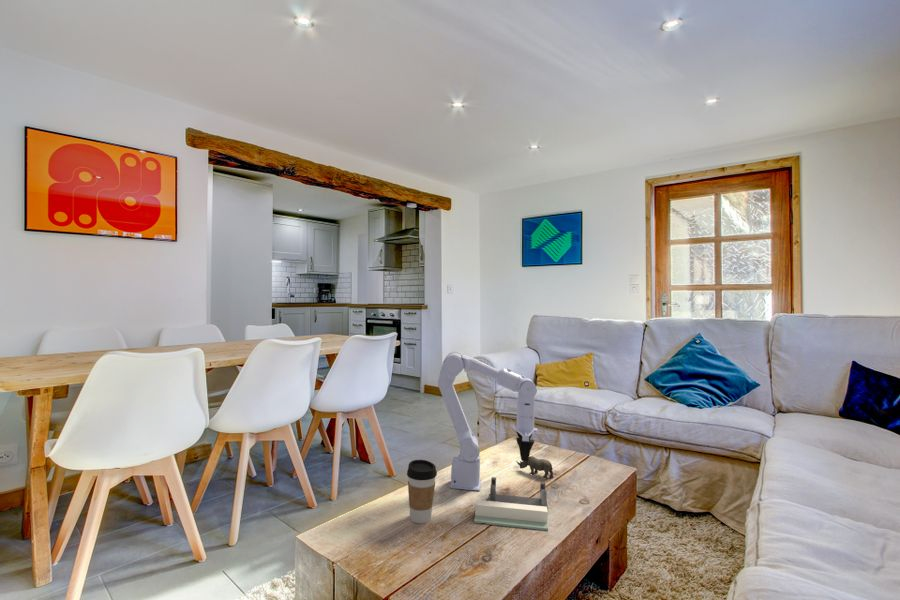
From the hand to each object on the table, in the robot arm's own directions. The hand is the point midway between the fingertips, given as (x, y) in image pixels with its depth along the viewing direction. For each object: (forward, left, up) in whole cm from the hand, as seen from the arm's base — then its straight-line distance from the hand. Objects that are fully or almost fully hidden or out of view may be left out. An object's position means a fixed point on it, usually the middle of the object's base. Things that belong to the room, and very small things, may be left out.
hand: (524, 456), depth 142 cm
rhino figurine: (+4, +12, -11) cm, 17 cm away
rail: (-4, -21, -10) cm, 24 cm away
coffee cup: (-29, -26, -11) cm, 40 cm away
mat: (-4, -21, -10) cm, 24 cm away
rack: (-2, -12, -10) cm, 16 cm away
